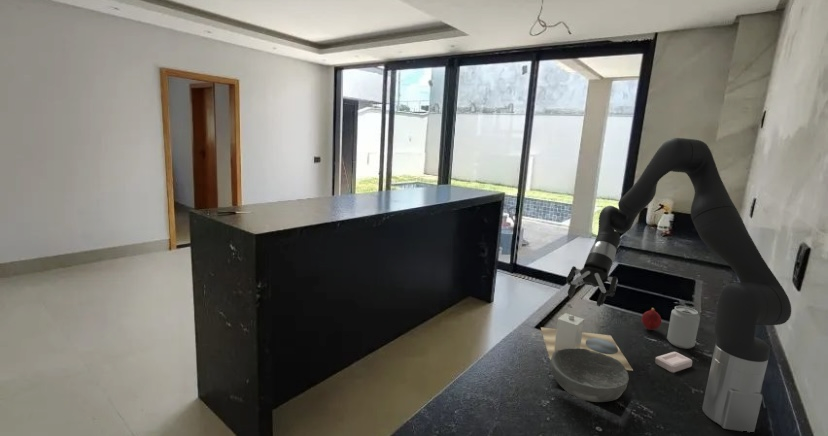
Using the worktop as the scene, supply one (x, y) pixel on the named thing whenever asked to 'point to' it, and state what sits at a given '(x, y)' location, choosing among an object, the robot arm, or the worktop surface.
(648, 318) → the onion
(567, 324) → the small milk carton
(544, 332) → the board
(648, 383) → the worktop surface
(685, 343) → the can
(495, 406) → the worktop surface
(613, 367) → the bowl
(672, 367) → the soap bar
